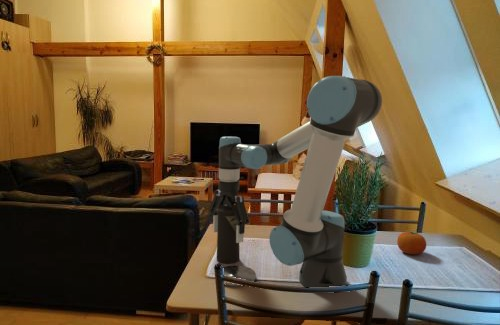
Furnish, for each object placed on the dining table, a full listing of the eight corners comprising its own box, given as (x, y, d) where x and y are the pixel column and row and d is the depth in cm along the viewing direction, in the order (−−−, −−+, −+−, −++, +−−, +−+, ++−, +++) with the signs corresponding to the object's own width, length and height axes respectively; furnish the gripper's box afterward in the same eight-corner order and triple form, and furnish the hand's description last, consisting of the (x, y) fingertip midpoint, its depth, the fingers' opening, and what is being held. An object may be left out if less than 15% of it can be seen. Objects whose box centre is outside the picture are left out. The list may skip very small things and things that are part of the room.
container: (236, 265, 124) (237, 210, 121) (212, 262, 125) (213, 208, 123) (242, 256, 132) (243, 204, 129) (219, 253, 134) (220, 202, 131)
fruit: (415, 259, 132) (416, 239, 131) (391, 250, 141) (392, 231, 140) (430, 254, 138) (432, 235, 137) (406, 246, 147) (408, 227, 146)
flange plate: (263, 278, 114) (263, 275, 114) (233, 291, 105) (233, 287, 105) (238, 265, 124) (238, 262, 123) (208, 276, 115) (208, 272, 115)
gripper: (260, 184, 118) (258, 244, 121) (216, 173, 136) (215, 225, 139) (244, 187, 113) (242, 249, 116) (200, 175, 131) (199, 229, 134)
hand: (227, 236), depth 128 cm, fingers open, 13 cm apart
